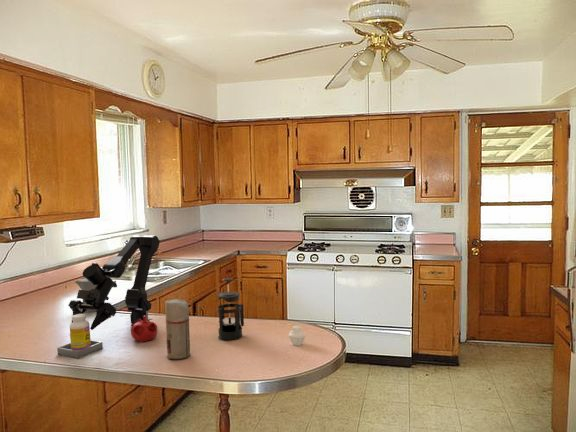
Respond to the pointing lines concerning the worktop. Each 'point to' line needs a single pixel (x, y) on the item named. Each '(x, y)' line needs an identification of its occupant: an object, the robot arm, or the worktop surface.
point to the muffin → (297, 335)
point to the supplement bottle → (79, 332)
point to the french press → (232, 324)
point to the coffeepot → (85, 288)
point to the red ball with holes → (144, 330)
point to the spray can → (177, 329)
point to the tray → (67, 351)
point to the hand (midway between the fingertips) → (81, 328)
